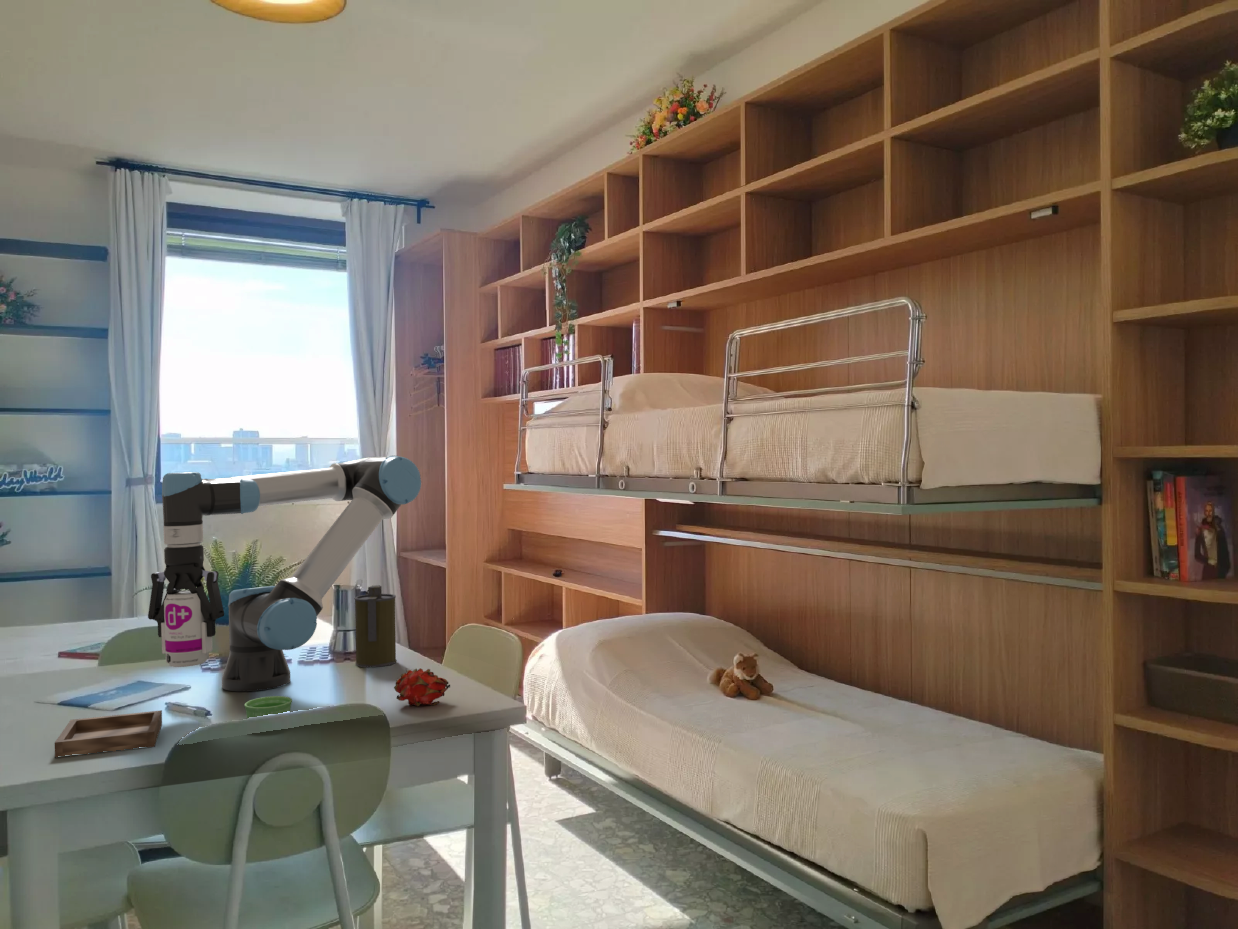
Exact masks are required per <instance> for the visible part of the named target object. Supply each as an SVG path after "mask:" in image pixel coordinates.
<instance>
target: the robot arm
mask: <svg viewBox="0 0 1238 929" xmlns="http://www.w3.org/2000/svg"><path fill="white" fill-rule="evenodd" d="M420 473H421V472H420V470H419V468H418V466H417V465H416V464H415V463H414V462H413V461H412V460H411V459H409V458H407V457H404V456H399V455H390V456H369V457H362V458H359V459H354V460H350V461H344V462H336V463H335V462H334V463H332V464H331V465H330V466H329V467H326V468H315V469H306V470H304V469H303V470H294V471H285V472H283V471H282V472H271V473H263V474H262V473H261V474H252V475H241V476H232V477H231V476H229V477H221V478H220V477H219V478H202V475H201V473H200V472H197V471H192V472H190V471H189V472H188V471H187V472H185V471H184V472H168V473H165V474H164V475H163V477H162V482H161V483H162V484H161V499H162V515H163V516H162V517H163V544H164V545H165V546H166V547H164V549H163V555H164V559H163V560H164V564H165V569H164V571H156V572H154V573H151V574H150V578H151V579H150V580H151V584H152V587H151V592H150V601H149V606H148V607H149V608H148V614H147V619H149V620H150V621H151V620H153V621H156V622H157V635H158V638H161V654H162V655H164V654H165V655H166V647H165V618H164V601H165V599H166V597H167V594H168V595H169V594H175V593H178V592H179V591H182V590H190V592H191V593H192V594H195V593H197V596H198V597H199V599H200V610H201V613H202V615H203V617H204V619H205V620H204V621H203V622H202V623H201V628H202V653H208V652H209V653H211V652H213V651H214V650H213V637H215V635H216V633H217V632H216V621H217V619H220V618H223V617H224V616H225V611H224V610H225V609H224V607H223V601H222V597H221V596H222V595H221V591H220V587H219V583H218V581H219V571H217V570H214V571H210V570H206V569H205V567H204V562H205V561H204V560H205V557H204V556H205V554H204V552H205V551H204V546H203V545H202V544H201V543H203V542H204V529H203V528H204V527H203V526H204V524H203V517H204V516H216V515H235V514H237V515H238V514H240V515H243V514H248V513H254V512H256V511H257V510H258V509H259V507H264V506H265V507H266V506H273V505H281V504H290V503H299V502H309V501H317V500H325V499H332V500H334V501H336V502H341V501H342V502H343V501H350V502H349V503H348V504H347V506H346V507H345V508H344V510H343V511H342V512H341V514H340V515H339V516H338V518H337V519H336V520H335V521H334V523H332V525H331V526H330V527H329V529H327V531H326V532H325V534H324V535H323V536H322V538H321V539H320V540H319V541H318V542H317V544H316V545H315V546H314V547H313V549H312V550H311V552H310V553H309V554H308V555H307V557H306V558H305V559H304V560H303V562H302V563H301V564H300V566H298V568H297V569H296V570H295V572H294V573H293V575H291V576H290V577H288V578H282V579H279V581H278V582H277V584H276V585H269V586H259V587H252V588H251V587H249V588H242V589H241V588H240V589H234V590H232V591H231V592H230V593H229V595H228V603H227V607H228V629H229V630H228V631H229V632H228V635H229V638H228V639H229V640H228V641H229V654H228V655H229V656H228V658H227V661H226V663H225V664H226V665H225V668H224V670H223V674H222V677H221V689H223V690H225V691H229V692H256V691H257V692H258V691H265V690H271V689H276V688H279V687H283V686H285V685H287V683H288V684H289V683H290V682H291V670H290V666H289V665H288V661H287V658H286V656H285V652H284V651H290V650H294V649H298V648H300V647H302V646H303V645H305V644H306V643H307V642H308V641H309V640H311V638H312V637H313V636H314V634H315V632H316V629H317V626H318V623H317V621H318V620H317V619H318V615H319V614H320V613H321V612H322V610H323V608H324V606H323V598H324V597H325V596H326V594H327V592H329V590H330V589H331V587H332V586H333V585H334V584H335V583H336V581H337V579H338V578H339V577H340V575H341V574H342V573H343V571H345V569H346V568H347V567H348V565H349V564H350V563H351V561H352V560H353V559H354V557H355V556H356V554H357V553H358V552H359V550H361V548H362V547H363V545H364V544H365V543H366V541H367V540H368V539H369V538H370V536H371V535H372V534H373V533H374V531H375V529H377V527H378V525H379V524H380V523H381V522H382V520H388V519H392V518H393V516H394V515H395V514H396V512H397V511H398V510H399V509H400V507H401V505H407V504H410V503H412V502H413V501H414V500H416V499H417V497H418V495H419V493H420V491H421V487H422V480H421V479H422V478H421V474H420ZM203 578H204V581H205V583H206V591H207V594H206V591H205V586H204V585H203V582H202V580H203ZM166 580H167V581H168V585H167V586H166V590H165V581H166ZM164 590H165V591H166V593H165V596H164ZM207 595H208V596H207ZM163 596H164V598H163Z"/></svg>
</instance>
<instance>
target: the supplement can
mask: <svg viewBox="0 0 1238 929" xmlns="http://www.w3.org/2000/svg"><path fill="white" fill-rule="evenodd" d="M164 618H165V647H166V654H165V663H167V664H168V666H170V667H173V668H182V667H183V668H185V667H186V668H187V667H193V666H198V665H201V664H204V663H206V662H207V660H208V659H209V658H210V652H208V653H202V628H201V623H202V622H203V621H204V620H205V619H204V617H203V615H202V613H201V610H200V599H199V597H198V596H197V593H195V594H192V593H191V592H190V590H186V589H184V590H180V591H179V592H178V593H175V594H169V595H168V594H167V597H166V599H165V601H164Z"/></svg>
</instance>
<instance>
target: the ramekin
mask: <svg viewBox="0 0 1238 929" xmlns="http://www.w3.org/2000/svg"><path fill="white" fill-rule="evenodd" d="M292 703H293V700H292V698H291V697H288V696H286V695H285V696H284V695H283V696H282V695H271V696H263V697H258V698H254V699H250V700H248V701H247V702H245V703H244V709H245V714H246V719H247V718H249V717H257V716H263V715H268V714H278V713H283V712H287V711H290V712H291V708H292Z"/></svg>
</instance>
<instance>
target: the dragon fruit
mask: <svg viewBox="0 0 1238 929" xmlns="http://www.w3.org/2000/svg"><path fill="white" fill-rule="evenodd" d="M449 688H451V684H450V682H449V681H448V680H447V679H445V678H444V677H439V676H438V675H436V674H435V673H434V672H433V671H431V669H430V668H427V669H426V670H424V669H422V668H419V669H417V668H415V669H414V670H411V669H406V673H405V672H404V673H401V675H400V677H399V678H397V680H395V685H394V686H393V689H394V691H395V692H396V693H398V694H397V695H396V699H397V700H398V701H400V702H401V701H407V704H408V705H409V706H411V707H412V706H416V707H419V706H420V705H429V706H436V705H438V704H439V703H440V700H438V701H434V700H437V699H439V698H441V697H444V696H445V692H447V690H448V689H449Z"/></svg>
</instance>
